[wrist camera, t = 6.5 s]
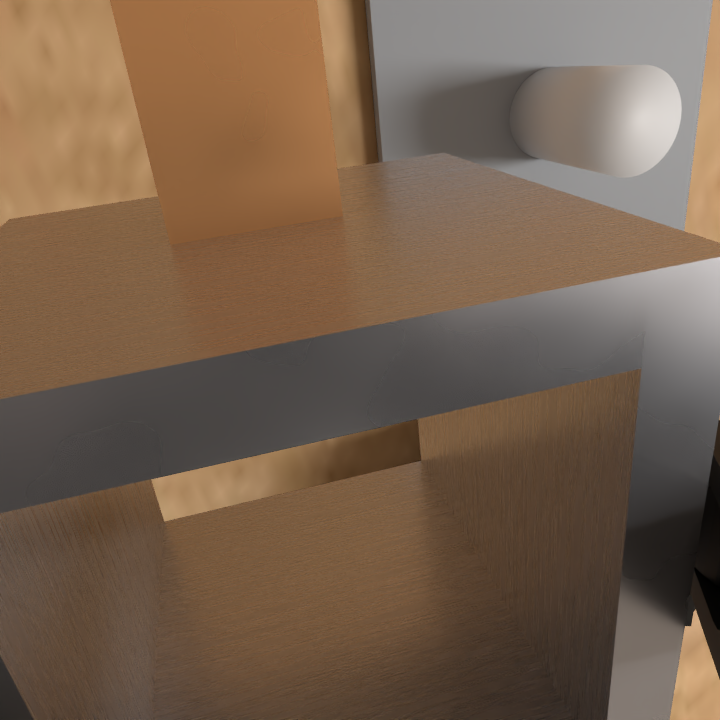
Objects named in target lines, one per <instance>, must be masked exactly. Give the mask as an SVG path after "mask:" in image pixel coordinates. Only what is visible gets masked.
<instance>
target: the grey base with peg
mask: <svg viewBox="0 0 720 720" xmlns="http://www.w3.org/2000/svg"><path fill="white" fill-rule="evenodd" d="M712 2H713V0H365V5H366V17H367V29H368V41H369V53H370V65H371V77H372V89H373V101H374V112H375V124H376V136H377V148H378V160H379V162H386V161H392V160H399V159H405V158H412V157H418V156H425V155H431V154H438V153H446V154H449V155H452V156H455V157H458V158H462V159H465V160H468V161H471V162H474V163H477V164H480V165H483V166H486V167H489V168H492V169H495V170H498V171H501V172H504V173H507V174H510V175H514V176H517V177H520V178H523V179H526V180H529V181H532V182H535V183H538V184H541V185H544V186H547V187H550V188H553V189H556V190H559V191H562V192H565V193H569V194H572V195H575V196H578V197H581V198H584V199H587V200H590V201H593V202H596V203H599V204H602V205H605V206H608V207H611V208H614V209H617V210H621V211H624V212H627V213H630V214H633V215H636V216H639V217H642V218H645V219H648V220H651V221H654V222H657V223H660V224H663V225H666V226H669V227H673V228H676V229H679V230H682V231H684V228H685V220H686V212H687V204H688V195H689V187H690V179H691V171H692V163H693V155H694V147H695V139H696V131H697V123H698V115H699V107H700V99H701V91H702V82H703V74H704V66H705V58H706V50H707V42H708V34H709V26H710V18H711V10H712Z"/></svg>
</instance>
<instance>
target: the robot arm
mask: <svg viewBox="0 0 720 720" xmlns="http://www.w3.org/2000/svg"><path fill="white" fill-rule="evenodd" d="M695 609H696V611H697V614H698V617H699V620H700V623H701V626H702V629H703V632H704V635H705V637H706V640H707V643H708V646H709V649H710V652H711V655H712V658H713V661H714V664H715V667H716V670H717V673H718V676H719V679H720V420H719V421H718V427H717V433H716V440H715V446H714V452H713V458H712V464H711V470H710V476H709V482H708V488H707V494H706V500H705V506H704V513H703V519H702V525H701V531H700V537H699V543H698V549H697V555H696V561H695V567H694V573H693V579H692V585H691V592H690V598H689V604H688V610H687V616H686V622H685V626H691V623H692V617H693V612H694V610H695Z"/></svg>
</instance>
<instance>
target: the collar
mask: <svg viewBox="0 0 720 720" xmlns="http://www.w3.org/2000/svg"><path fill="white" fill-rule="evenodd" d="M110 2H111V6H112V10H113V14H114V19H115V23H116V27H117V31H118V35H119V39H120V43H121V47H122V51H123V55H124V59H125V63H126V67H127V71H128V75H129V79H130V83H131V87H132V92H133V96H134V100H135V104H136V108H137V112H138V116H139V120H140V124H141V128H142V132H143V136H144V140H145V144H146V148H147V152H148V156H149V160H150V164H151V169H152V173H153V177H154V181H155V185H156V189H157V193H158V196H157V197H151V198H144V199H138V200H131V201H125V202H118V203H112V204H105V205H99V206H92V207H86V208H79V209H72V210H66V211H59V212H53V213H46V214H40V215H33V216H27V217H20V218H14V219H9V220H8V221H7V222H6V223H4V224H3V225H2V226H1V227H0V720H669V719H670V713H671V707H672V701H673V695H674V689H675V683H676V677H677V671H678V665H679V658H680V652H681V646H682V640H683V634H684V628H685V622H686V616H687V610H688V604H689V598H690V592H691V585H692V579H693V573H694V567H695V561H696V555H697V549H698V543H699V537H700V531H701V525H702V519H703V513H704V506H705V500H706V494H707V488H708V482H709V476H710V470H711V464H712V458H713V452H714V446H715V440H716V433H717V427H718V421H719V415H720V243H718V242H715V241H712V240H709V239H706V238H703V237H700V236H697V235H694V234H691V233H688V232H685V231H682V230H679V229H676V228H673V227H669V226H666V225H663V224H660V223H657V222H654V221H651V220H648V219H645V218H642V217H639V216H636V215H633V214H630V213H627V212H624V211H621V210H617V209H614V208H611V207H608V206H605V205H602V204H599V203H596V202H593V201H590V200H587V199H584V198H581V197H578V196H575V195H572V194H569V193H565V192H562V191H559V190H556V189H553V188H550V187H547V186H544V185H541V184H538V183H535V182H532V181H529V180H526V179H523V178H520V177H517V176H514V175H510V174H507V173H504V172H501V171H498V170H495V169H492V168H489V167H486V166H483V165H480V164H477V163H474V162H471V161H468V160H465V159H462V158H458V157H455V156H452V155H449V154H446V153H438V154H431V155H425V156H418V157H412V158H405V159H399V160H392V161H386V162H379V163H373V164H366V165H360V166H353V167H346V168H340V169H337V162H336V154H335V146H334V138H333V129H332V121H331V113H330V105H329V96H328V88H327V80H326V72H325V63H324V55H323V47H322V39H321V30H320V22H319V14H318V6H317V0H110ZM415 419H418V428H419V441H420V453H421V461H418V462H414V463H409V464H405V465H401V466H397V467H393V468H388V469H384V470H380V471H376V472H372V473H367V474H363V475H359V476H355V477H351V478H346V479H342V480H338V481H334V482H330V483H325V484H321V485H317V486H313V487H309V488H304V489H300V490H296V491H292V492H288V493H283V494H279V495H275V496H271V497H267V498H262V499H258V500H254V501H250V502H246V503H241V504H237V505H233V506H229V507H224V508H220V509H216V510H212V511H208V512H203V513H199V514H195V515H191V516H187V517H182V518H178V519H174V520H170V521H166V522H164V519H163V516H162V513H161V510H160V507H159V503H158V500H157V497H156V494H155V491H154V487H153V484H152V481H151V479H154V478H159V477H163V476H168V475H172V474H177V473H181V472H185V471H190V470H194V469H199V468H203V467H208V466H212V465H216V464H221V463H225V462H230V461H234V460H239V459H243V458H247V457H252V456H256V455H261V454H265V453H269V452H274V451H278V450H283V449H287V448H292V447H296V446H300V445H305V444H309V443H314V442H318V441H323V440H327V439H331V438H336V437H340V436H345V435H349V434H353V433H358V432H362V431H367V430H371V429H376V428H380V427H384V426H389V425H393V424H398V423H402V422H407V421H411V420H415Z"/></svg>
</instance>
